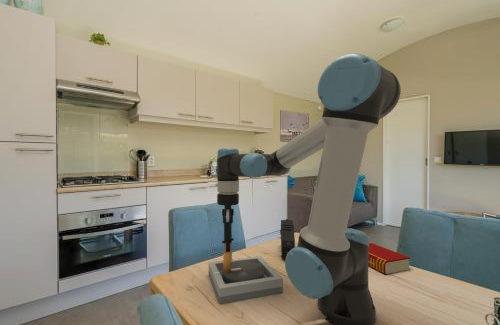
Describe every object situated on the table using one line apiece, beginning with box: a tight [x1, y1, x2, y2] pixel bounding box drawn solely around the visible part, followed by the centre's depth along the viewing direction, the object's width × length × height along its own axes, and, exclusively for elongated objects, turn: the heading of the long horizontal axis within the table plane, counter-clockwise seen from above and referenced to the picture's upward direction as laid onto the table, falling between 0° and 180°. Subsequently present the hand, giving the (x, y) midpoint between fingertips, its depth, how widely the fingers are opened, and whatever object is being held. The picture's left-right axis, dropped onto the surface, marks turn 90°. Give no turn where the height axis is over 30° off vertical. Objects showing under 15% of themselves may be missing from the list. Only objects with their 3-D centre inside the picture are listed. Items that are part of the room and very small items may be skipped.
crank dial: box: [222, 251, 264, 284], centre depth 85 cm, size 14×14×8 cm
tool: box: [279, 218, 296, 259], centre depth 110 cm, size 6×19×15 cm, turn 174°
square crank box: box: [208, 255, 284, 305], centre depth 85 cm, size 20×20×5 cm
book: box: [368, 242, 411, 276], centre depth 102 cm, size 18×13×5 cm
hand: (227, 260), depth 88 cm, fingers closed
